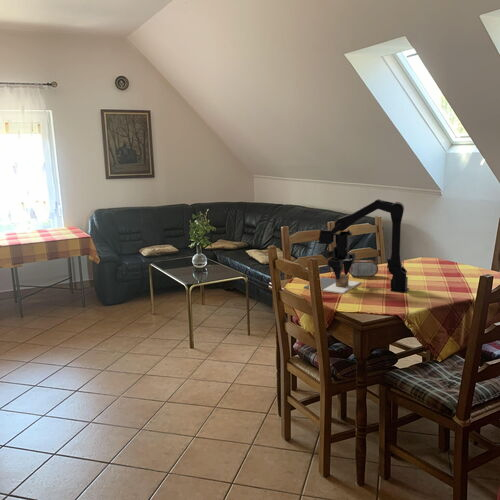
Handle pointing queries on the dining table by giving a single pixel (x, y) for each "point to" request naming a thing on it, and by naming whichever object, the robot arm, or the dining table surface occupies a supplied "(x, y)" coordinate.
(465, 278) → the dining table surface
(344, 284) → the brown cylinder
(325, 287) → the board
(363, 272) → the tin
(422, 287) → the dining table surface
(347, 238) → the robot arm
